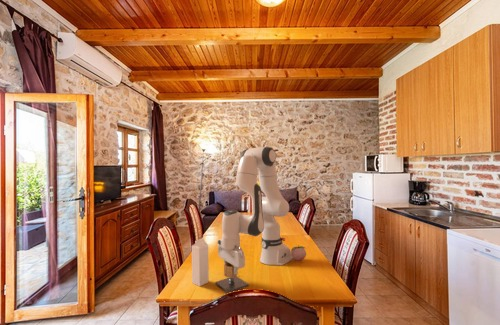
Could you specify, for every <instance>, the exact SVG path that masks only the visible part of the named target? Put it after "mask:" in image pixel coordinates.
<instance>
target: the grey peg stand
mask: <svg viewBox="0 0 500 325" xmlns="http://www.w3.org/2000/svg"><path fill="white" fill-rule="evenodd" d="M214 284H215V285H216V286H217V287H219V289H221V290H222V291H223V292H225V293H226V294H227V293H228V294H230V293H229V292H231V293H233V292H232V291H234V292H236V291H238V290H242V289H245V288H247V287H249V286H250V285H249V283H248V282H246V281H245V280H243V279H242V278H240V277H239V276H238V275H237V276H236V277H232V278H230V277H225V278H224V279H220V280H217V281H215V283H214ZM244 287H245V288H244Z"/></svg>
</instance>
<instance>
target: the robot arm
mask: <svg viewBox="0 0 500 325" xmlns="http://www.w3.org/2000/svg"><path fill="white" fill-rule="evenodd" d="M276 160H277V153H276V151H275V149H274V148H273V147H271V146H257V147H254V148H253V147H252V148H246V149H244V150H242V151H241V153H240V160H239V161H238V165H237V170H236V178H235V182H236V186H237V187H238V188H239V189H240V190H241V191H243V192H244V193H246V194H247V195H249V197H250V198H251V207H252V211H251V212H252V215H251V214H244V213H243V214H242V213H241V212H239V211H238V210H237V209H233V208H232V209H227V210H225V211H224V212H223V214H222V219H221V231H222V235H221V238H220V239H219V238H218V239H217V255H218V257H219V258H220V259H222V260H223V263H224V265H225V263H228V262H229V263H230V264H232V265H234V270H233V274H235V275H236V274H237V273H238V271H239V269H242V268H244V267H245V266H246V257H245V256H246V255H245V252H244V250H243V248H242V247H241V239H240V238H241V235H240V234H244V235H249V236H251V237H252V236H253V237H258V236H260V235H261V236H262V237H261V253H260V258H259V262H260V263H262V264H264V265H267V266H283V265H285V264H287V263H289V262H291V261H293V260H294V259H293V258H292V255H291V248H290V247H289V246H287V245H286V244H285V243H283V242H285V241H286V238H285V237H283V236H282V237H281V226H280V223H279V222H278V221H277V220H276V218H279V217H280V218H281V217H286V216H287V215H288V214H289V211H290V205H289V202H288V201H287V200H286V199H285V198H284V197H283V195H282V193H281V190H280V189H279V185H278V177H277V176H278V174H277V169H276V168H277V167H276V165H275V162H276ZM257 178H258V179H257ZM258 183H259V184H258ZM263 193H264V196H263V195H262V194H263ZM275 217H276V218H275ZM237 275H238V274H237Z"/></svg>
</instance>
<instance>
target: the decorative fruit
mask: <svg viewBox="0 0 500 325" xmlns="http://www.w3.org/2000/svg"><path fill="white" fill-rule="evenodd" d="M290 251H291V255H292V258H293V260H294V261H296V262H298V263H300V262H302V261H303V260H304V259H305V258H306V256H307V251H306V247H305V246H302V245H301V246H300V245H297V246H294V247H292V248H290Z"/></svg>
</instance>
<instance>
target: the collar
mask: <svg viewBox="0 0 500 325" xmlns="http://www.w3.org/2000/svg"><path fill="white" fill-rule="evenodd" d="M223 267H224V268H223V269H224V270H223V276H225V278H229V277H230V278H232V277H236V276H237V277H238V273H237V274H236V275H235V274H233V270H234V265H232V264H230V263H229V262H228V263H225V264H224V265H223Z"/></svg>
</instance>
